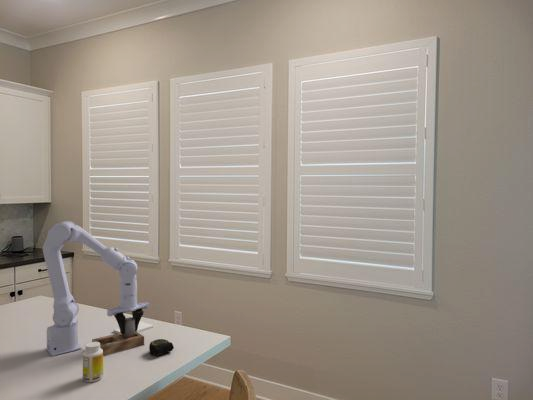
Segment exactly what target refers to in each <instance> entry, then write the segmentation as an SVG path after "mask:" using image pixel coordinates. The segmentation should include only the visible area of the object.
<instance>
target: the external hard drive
mask: <svg viewBox="0 0 533 400" xmlns="http://www.w3.org/2000/svg"><path fill="white" fill-rule="evenodd" d="M151 329H154V326H153V324H150V323H147V322H144V321H143V320H140V322H139V325H138V329H137V332H139V333H142V332H144V331H147V330H151ZM112 331H113V333H114V332H115V333H114V334H117V333H120V328H119V327H118V328H116V329H113V330H112ZM141 331H142V332H141Z"/></svg>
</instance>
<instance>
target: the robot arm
mask: <svg viewBox="0 0 533 400" xmlns="http://www.w3.org/2000/svg"><path fill="white" fill-rule="evenodd" d="M68 241H69V242H70V243H71V242H72V243H74V242H77V243H82V244H83V245H85V246H86V247H88V248H89V249H90V250H92V251H94V252H96V253H97V254H98V255H99V256H100V260H101V261H102V262H104V263H105V264H107V266H109V267H111V268H112V269H113V270H114V271H117V272H118V274H119V276H120V282H119V283H120V284H119V291H120V292H119V294H120V295H119V304H120V305H119V306H116V307H113V308H110V309H106V314H107V316H108V317H113V316H114V318H115V321H116V322H117V325H118V328H120V333H121V334H125V318H127V317H126V316H125V314H126V313H131V315H132V317H133V318H135V331H137V329H138V325H139V322H140V321H141V319H142V317H143V315H144V313H145V311H144V310H145V309H146V310H147V309H148V310H149V309H150V303H149V302H147V301H145V302H138V280H137V271H138V264H137V262H136V261H135V259H132V258H130V257H129V256H126V255H125V254H123V253H121V252H120V251H119V250H120V249H119V248H118V247H115V248H114V247H113V246H108V247H107V246H105V245H104V244H103V243H102V242H100V241H99V240H98V239H97V238H96V237H94V236H93V235H92V234H90V233H89V232H88V231H86V230H85V229H84V228H83V227H81V226H80V225H78V224H75V223H74V222H73V221H71V220H63V221H61V222H59V223H58V222H57V223H56V224H54V225H52V227H51V228H50V229H49V230H48V231H47V236H46V238H45V240H44V244H43V246H42V252H43V258H44V262H45V266H46V269H47V273H48V278H49V281H50V285H51V290H52V291H51V292H52V295H53V305H52V308H53V315H52V321H53V323H54V324H52V325H50V326H47V327H46V350H47V351H48V353H49V355H51V356H52V357H54V356H58V355H62V354H65V353H71V352H73V351H77V350H82V346H81V344H79V335H78V334H79V333H78V332H79V331H78V330H79V329H78V328H79V325H78V324H79V323H78V322H79V320H78V318H77V317H76V316H77V315H78V313H79V309H80V308H79V304H77V302H76V301H75V299H74V295H72V294H71V290H70V287H69V283H68V277H67V274H66V269H65V265H64V261H63V256H62V252H61V249H62V248H63V247H64V245H66V243H67V242H68Z"/></svg>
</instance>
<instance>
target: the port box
mask: <svg viewBox="0 0 533 400" xmlns="http://www.w3.org/2000/svg"><path fill="white" fill-rule="evenodd" d="M91 339H92V338H91ZM91 342H99V343H100V348H101V349H102V350H103V357H104V356H107V355H112V354H115V353H119V352H122V351H126V350H130V349H134V348H137V347H142V346H144V345H145V336H144V335H143V334H141V332H139V333H138V332H137V331H135V337H131V338H128V339H123V334H121V333H113V334H110V335H105V336H101V337H100V336H99V337H96V338H93V339H92V340H91Z"/></svg>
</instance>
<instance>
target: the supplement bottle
mask: <svg viewBox="0 0 533 400" xmlns="http://www.w3.org/2000/svg"><path fill="white" fill-rule="evenodd" d="M84 349H85V350H84V351H83V352H82V380H83V381H84V382H86V383H94V382H99V381H100V380H101V379H102V378H103V377H104V356H103V350H102V349H101V348H100V343H99V342H92V341H91V342H88V343H86V344H85V348H84Z"/></svg>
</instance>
